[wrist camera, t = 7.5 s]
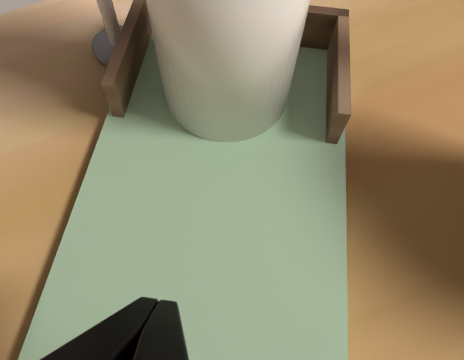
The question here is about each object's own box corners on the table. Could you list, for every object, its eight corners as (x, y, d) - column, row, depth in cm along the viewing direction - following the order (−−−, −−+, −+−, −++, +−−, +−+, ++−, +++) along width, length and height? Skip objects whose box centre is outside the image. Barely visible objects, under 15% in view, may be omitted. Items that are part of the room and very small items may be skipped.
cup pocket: (336, 144, 20) (350, 114, 18) (112, 116, 21) (100, 84, 19) (336, 44, 24) (348, 9, 22) (146, 22, 24) (138, -14, 22)
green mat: (344, 433, 15) (349, 435, 14) (16, 382, 15) (9, 382, 15) (341, 47, 25) (344, 40, 24) (144, 25, 25) (142, 17, 25)
